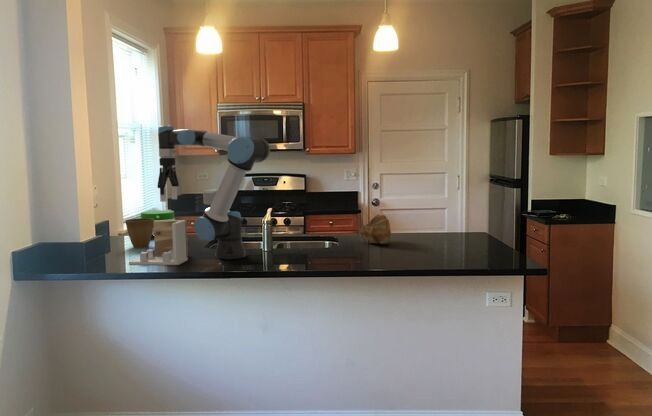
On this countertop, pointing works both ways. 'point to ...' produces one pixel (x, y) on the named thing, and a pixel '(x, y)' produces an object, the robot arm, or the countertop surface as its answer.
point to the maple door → (165, 236)
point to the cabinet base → (176, 248)
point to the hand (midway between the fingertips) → (169, 200)
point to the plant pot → (140, 231)
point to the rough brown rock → (377, 230)
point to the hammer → (209, 196)
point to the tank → (158, 215)
